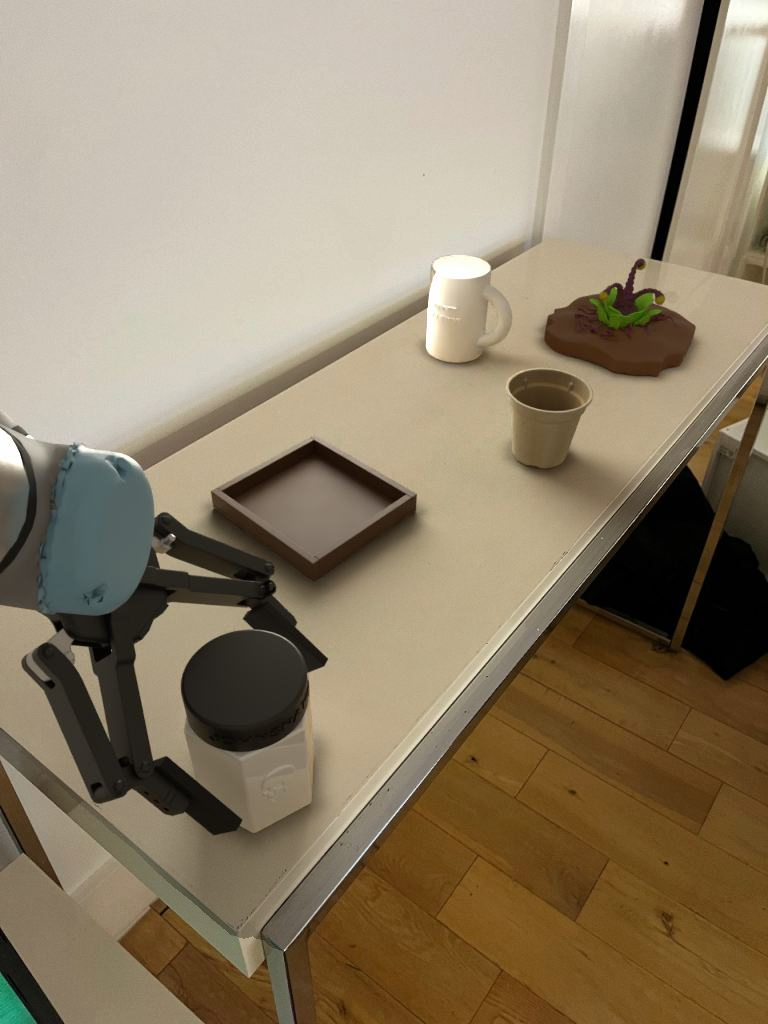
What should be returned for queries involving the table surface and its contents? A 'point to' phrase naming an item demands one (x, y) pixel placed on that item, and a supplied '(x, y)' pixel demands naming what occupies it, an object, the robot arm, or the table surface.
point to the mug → (463, 309)
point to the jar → (250, 725)
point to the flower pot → (545, 414)
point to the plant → (621, 329)
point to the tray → (314, 505)
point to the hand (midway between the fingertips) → (276, 740)
